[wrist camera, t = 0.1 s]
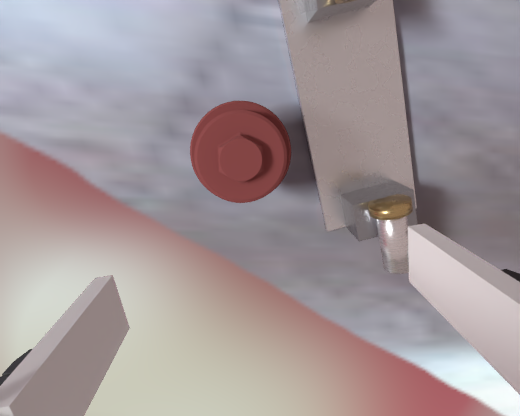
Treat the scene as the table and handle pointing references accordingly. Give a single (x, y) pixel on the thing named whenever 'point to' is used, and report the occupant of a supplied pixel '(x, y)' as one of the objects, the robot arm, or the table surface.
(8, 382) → the robot arm
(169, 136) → the table surface
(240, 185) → the mechanical component
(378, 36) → the shaft bed
